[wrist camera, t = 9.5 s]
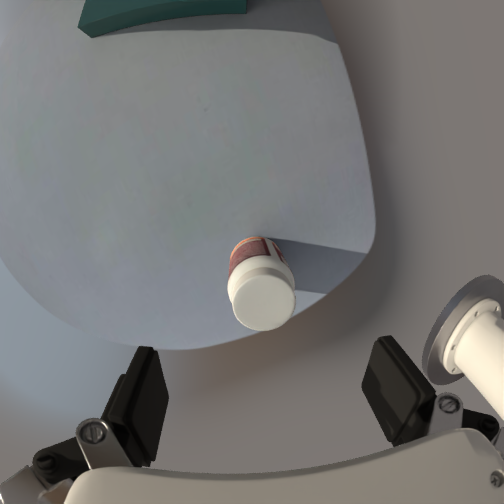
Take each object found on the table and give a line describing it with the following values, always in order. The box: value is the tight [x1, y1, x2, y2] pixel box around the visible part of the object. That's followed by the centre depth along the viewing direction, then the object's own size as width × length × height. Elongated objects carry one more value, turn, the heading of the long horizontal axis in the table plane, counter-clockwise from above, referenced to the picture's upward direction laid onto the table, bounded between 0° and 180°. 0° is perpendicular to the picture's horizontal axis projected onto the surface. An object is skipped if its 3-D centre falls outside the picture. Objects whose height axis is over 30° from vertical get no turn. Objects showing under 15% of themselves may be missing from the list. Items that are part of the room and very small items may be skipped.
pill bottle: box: [228, 237, 296, 331], centre depth 21 cm, size 5×5×8 cm
